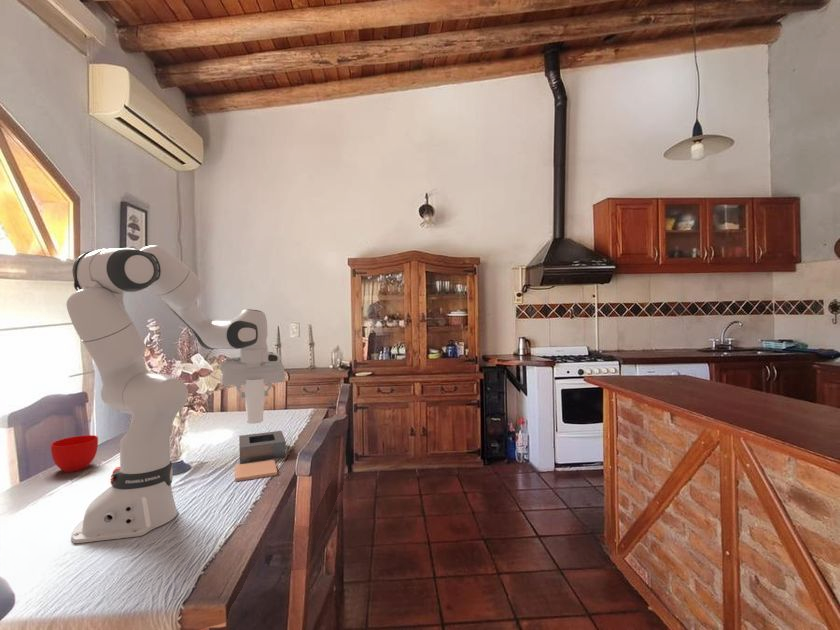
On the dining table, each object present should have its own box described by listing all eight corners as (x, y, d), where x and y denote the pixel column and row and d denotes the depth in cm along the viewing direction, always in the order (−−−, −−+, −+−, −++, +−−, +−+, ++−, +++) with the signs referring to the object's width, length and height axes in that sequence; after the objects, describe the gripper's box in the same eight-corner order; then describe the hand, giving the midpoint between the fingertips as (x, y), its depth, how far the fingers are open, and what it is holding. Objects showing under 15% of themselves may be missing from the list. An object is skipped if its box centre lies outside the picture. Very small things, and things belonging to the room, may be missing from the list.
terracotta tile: (235, 481, 137) (235, 478, 137) (235, 467, 149) (235, 465, 149) (277, 474, 142) (277, 471, 142) (274, 462, 154) (274, 459, 154)
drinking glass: (239, 423, 144) (239, 379, 144) (256, 418, 150) (255, 376, 150) (253, 425, 140) (253, 380, 140) (269, 421, 146) (269, 377, 146)
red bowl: (107, 456, 162) (107, 430, 162) (90, 472, 146) (89, 443, 146) (66, 461, 157) (65, 434, 157) (43, 478, 141) (43, 448, 141)
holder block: (239, 464, 152) (239, 447, 152) (239, 450, 167) (239, 435, 167) (286, 457, 159) (285, 441, 159) (281, 445, 173) (281, 430, 173)
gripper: (220, 359, 138) (220, 401, 138) (285, 356, 146) (285, 396, 146) (220, 357, 144) (221, 397, 144) (283, 354, 152) (283, 393, 152)
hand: (254, 397), depth 145 cm, fingers closed on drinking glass, 6 cm apart
